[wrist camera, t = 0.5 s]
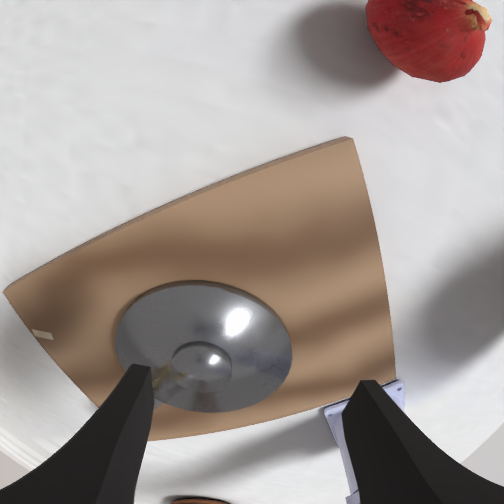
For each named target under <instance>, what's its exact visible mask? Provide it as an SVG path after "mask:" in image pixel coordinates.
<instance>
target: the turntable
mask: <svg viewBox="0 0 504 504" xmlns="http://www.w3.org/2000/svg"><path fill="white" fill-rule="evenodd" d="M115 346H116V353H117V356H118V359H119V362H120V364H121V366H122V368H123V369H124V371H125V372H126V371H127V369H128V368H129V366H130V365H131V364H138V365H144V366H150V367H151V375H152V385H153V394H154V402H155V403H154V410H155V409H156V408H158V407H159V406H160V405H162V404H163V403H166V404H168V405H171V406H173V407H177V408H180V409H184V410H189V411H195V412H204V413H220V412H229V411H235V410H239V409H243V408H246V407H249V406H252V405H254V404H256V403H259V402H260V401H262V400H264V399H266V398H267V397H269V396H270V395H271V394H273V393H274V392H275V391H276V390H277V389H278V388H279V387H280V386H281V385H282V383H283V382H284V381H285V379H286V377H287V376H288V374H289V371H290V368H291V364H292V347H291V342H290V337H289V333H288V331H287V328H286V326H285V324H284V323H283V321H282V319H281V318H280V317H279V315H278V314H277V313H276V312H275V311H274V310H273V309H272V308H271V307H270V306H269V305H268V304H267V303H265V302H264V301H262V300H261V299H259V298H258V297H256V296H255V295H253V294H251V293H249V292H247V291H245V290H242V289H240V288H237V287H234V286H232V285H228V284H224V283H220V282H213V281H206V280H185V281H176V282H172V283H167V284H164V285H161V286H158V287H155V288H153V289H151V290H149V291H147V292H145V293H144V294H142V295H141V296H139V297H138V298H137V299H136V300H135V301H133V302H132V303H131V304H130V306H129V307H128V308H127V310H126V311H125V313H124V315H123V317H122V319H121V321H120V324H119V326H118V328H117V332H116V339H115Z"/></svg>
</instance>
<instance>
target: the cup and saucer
mask: <svg viewBox="0 0 504 504" xmlns="http://www.w3.org/2000/svg"><path fill="white" fill-rule="evenodd" d="M171 504H228V503H224V502H220V501H215V500H208V499H182V500H177V501H174V502H172V503H171Z"/></svg>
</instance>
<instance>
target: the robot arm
mask: <svg viewBox="0 0 504 504" xmlns="http://www.w3.org/2000/svg"><path fill="white" fill-rule="evenodd" d="M154 403H155V402H154V394H153V385H152V375H151V367H150V366H144V365H138V364H131V365H130V366H129V368H128V369H127V371H126V372H125V374H124V375H123V377H122V378H121V380H120V381H119V383H118V384H117V385H116V387H115V388H114V389H113V391H112V392H111V393H110V395H109V396H108V397H107V398H106V400H105V401H104V402H103V403H102V405H101V406H100V407H99V408H98V410H97V411H96V412H95V413H94V414H93V416H92V417H91V418H90V419H89V420H88V421H87V422H86V423H85V424H84V426H83V427H82V428H81V429H80V430H79V431H78V432H77V433H76V434H75V435H74V436H73V437H72V438H71V439H70V440H69V441H68V442H67V443H66V444H65V445H64V446H63V447H61V448H60V449H59V450H58V451H57V452H56V453H54V454H53V455H52V456H51V457H50V458H48V459H47V460H46V461H45V462H43V463H42V464H41V465H40V466H38V467H37V468H35V469H34V470H32V471H31V472H29V473H28V474H26V475H25V476H23V477H22V478H20V479H19V480H17V481H16V482H14V483H12V484H10V485H9V486H7V487H5V488H3V489H1V490H0V504H134V496H135V489H136V484H137V479H138V475H139V471H140V467H141V463H142V459H143V455H144V452H145V448H146V444H147V440H148V437H149V433H150V429H151V423H152V416H153V410H154ZM324 415H325V417H326V419H327V422H328V424H329V427H330V429H331V431H332V434H333V436H334V438H335V441H336V443H337V446H338V448H340V452H341V456H342V460H343V464H344V468H345V472H346V476H347V480H348V484H349V488H350V493H351V495H350V496H348V497H346V502H347V504H504V487H503V486H500V485H498V484H495V483H493V482H491V481H488V480H486V479H484V478H482V477H481V476H479V475H477V474H475V473H473V472H472V471H470V470H468V469H467V468H465V467H464V466H462V465H461V464H459V463H458V462H456V461H455V460H454V459H452V458H451V457H450V456H448V455H447V454H446V453H445V452H444V451H442V450H441V449H440V448H439V447H438V446H436V445H435V444H434V443H433V442H432V441H431V440H430V439H429V438H428V437H427V436H426V435H425V434H424V433H423V432H422V431H421V430H420V429H419V428H418V427H417V426H416V425H415V424H414V423H413V422H412V421H411V420H410V419H409V418H408V416H407V415H406V413H405V411H404V383H403V381H402V380H399V381H396V382H394V383H392V384H389V385H387V386H384V387H381V386H380V385H379V384H378V382H377V381H376V380H360V382H359V384H358V385H357V387H356V389H355V391H354V393H353V394H352V396H351V398H350V399H349V400H348V401H345V402H342V403H339V404H336V405H333V406H330V407H327V408H325V409H324Z"/></svg>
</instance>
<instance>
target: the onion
mask: <svg viewBox="0 0 504 504" xmlns="http://www.w3.org/2000/svg"><path fill="white" fill-rule="evenodd" d="M366 16H367V25H368V30H369V32H370V34H371V36H372V37H373V39H374V41H375V43H376V45H377V47H378V48H379V50H380V51H381V52H382V53H383V54H384V55H385V56H386V57H387V59H388V60H389V61H390V62H391V63H392V64H393V65H394V66H395V67H397V68H398V69H400V70H402V71H403V72H405V73H407V74H408V75H410V76H412V77H416V78H421V79H425V80H430V81H434V82H439V83H441V82H446V81H450V80H453V79H456V78H459V77H462V76H465V75H466V74H467V73H468V72H469V71H470V70H471V69H472V68H473V67H474V66H475V64H476V63H477V62H478V61H479V59H480V58H481V56H482V52H483V48H484V43H485V31H486V30H488V28H489V26H490V24H491V21H492V20H491V18H490V16H489V15H488V12H487V9H485V8H484V7H482V6H480V5H478V4H477V3H475V2H473V1H472V0H369V1H368V3H367V6H366Z"/></svg>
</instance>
